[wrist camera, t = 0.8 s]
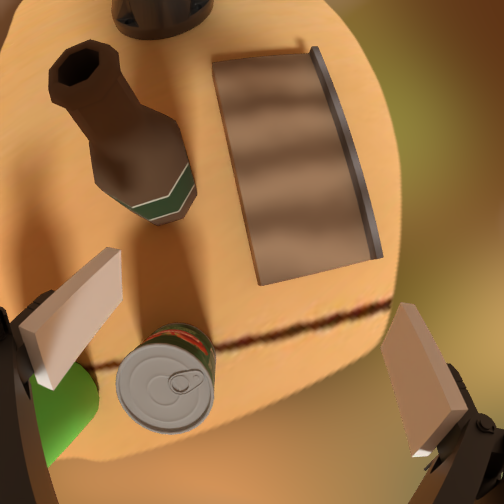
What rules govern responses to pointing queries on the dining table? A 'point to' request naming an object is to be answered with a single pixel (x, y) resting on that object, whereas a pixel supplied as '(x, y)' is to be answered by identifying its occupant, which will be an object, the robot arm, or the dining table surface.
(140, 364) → the canned tomato
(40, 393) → the bottle
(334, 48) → the dining table surface
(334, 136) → the shelf
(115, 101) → the beer bottle
